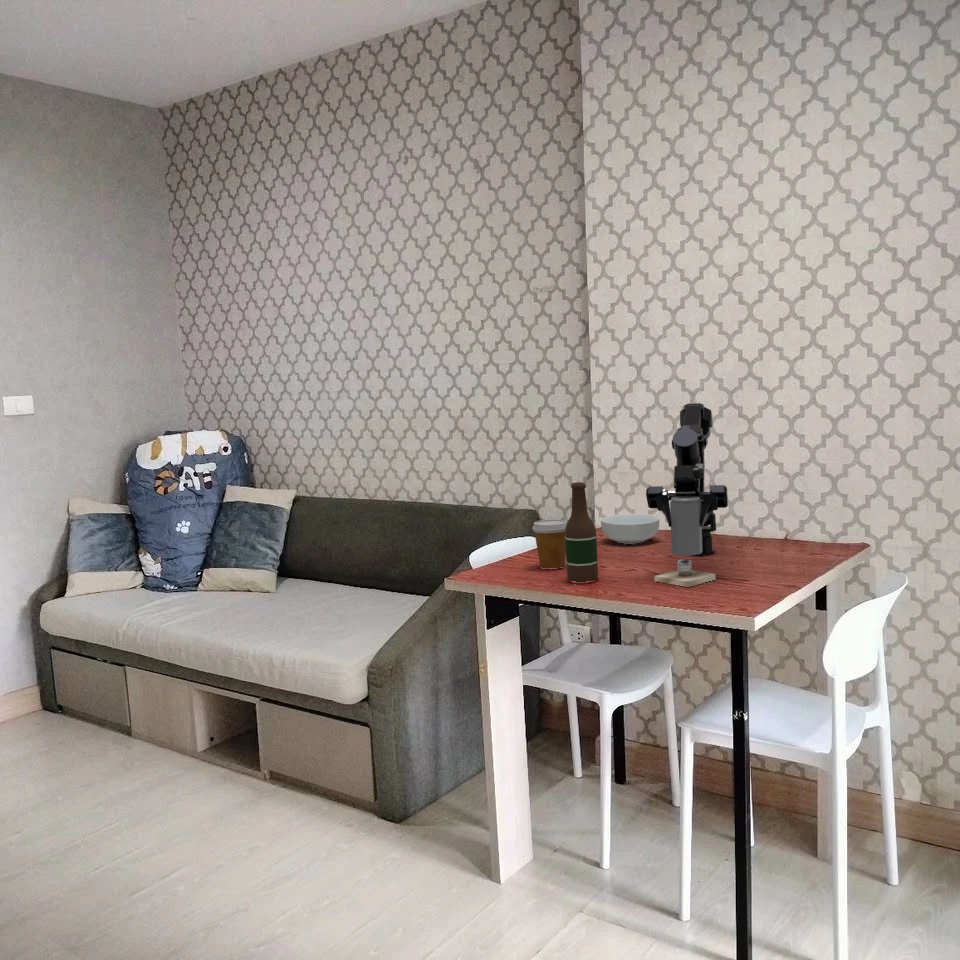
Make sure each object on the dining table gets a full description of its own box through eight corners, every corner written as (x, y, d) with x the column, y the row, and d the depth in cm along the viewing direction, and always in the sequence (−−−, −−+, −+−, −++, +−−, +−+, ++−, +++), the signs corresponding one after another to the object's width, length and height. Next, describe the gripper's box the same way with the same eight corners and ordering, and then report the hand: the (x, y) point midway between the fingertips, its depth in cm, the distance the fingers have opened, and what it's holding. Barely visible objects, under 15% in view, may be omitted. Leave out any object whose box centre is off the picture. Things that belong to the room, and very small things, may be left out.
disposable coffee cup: (575, 564, 250) (573, 519, 249) (563, 572, 241) (561, 525, 240) (542, 563, 254) (539, 519, 253) (528, 570, 245) (526, 525, 244)
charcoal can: (667, 551, 225) (665, 497, 223) (691, 548, 227) (689, 494, 226) (682, 556, 219) (680, 500, 217) (707, 553, 221) (705, 498, 219)
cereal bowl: (589, 544, 277) (588, 520, 277) (625, 535, 289) (624, 512, 288) (636, 549, 265) (635, 525, 264) (671, 540, 276) (670, 516, 275)
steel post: (674, 575, 224) (673, 560, 224) (683, 572, 226) (683, 558, 226) (685, 577, 221) (685, 562, 221) (695, 574, 224) (694, 560, 223)
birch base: (654, 582, 225) (654, 575, 225) (681, 574, 231) (681, 568, 231) (688, 588, 217) (688, 581, 217) (715, 580, 223) (715, 574, 223)
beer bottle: (601, 577, 233) (597, 480, 230) (594, 584, 226) (590, 484, 223) (570, 576, 236) (566, 481, 233) (563, 583, 228) (558, 485, 226)
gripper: (645, 453, 227) (641, 505, 218) (725, 450, 221) (725, 504, 212) (650, 481, 235) (646, 533, 226) (728, 480, 230) (727, 533, 220)
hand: (685, 525), depth 221 cm, fingers closed on charcoal can, 7 cm apart
